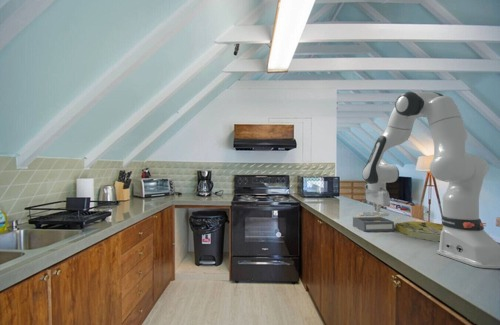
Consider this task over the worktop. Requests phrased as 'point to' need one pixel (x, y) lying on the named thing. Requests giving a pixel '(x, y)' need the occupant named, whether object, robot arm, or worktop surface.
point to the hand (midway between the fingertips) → (377, 211)
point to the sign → (420, 229)
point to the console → (373, 224)
